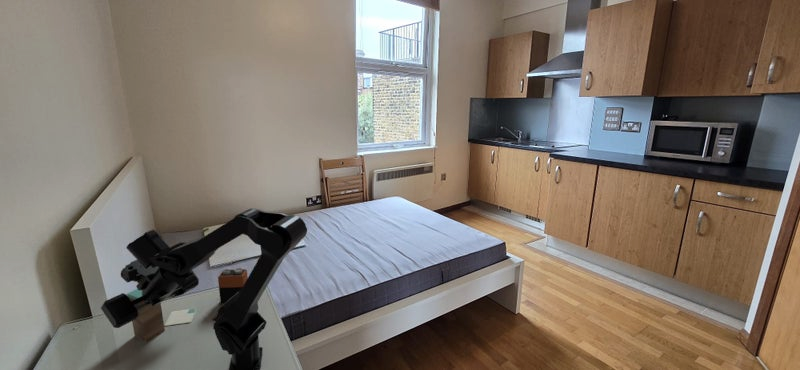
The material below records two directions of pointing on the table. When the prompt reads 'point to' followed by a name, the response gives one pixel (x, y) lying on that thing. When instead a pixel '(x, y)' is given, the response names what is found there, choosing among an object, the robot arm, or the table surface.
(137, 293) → the block
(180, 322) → the pad
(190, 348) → the table surface
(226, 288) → the battery
